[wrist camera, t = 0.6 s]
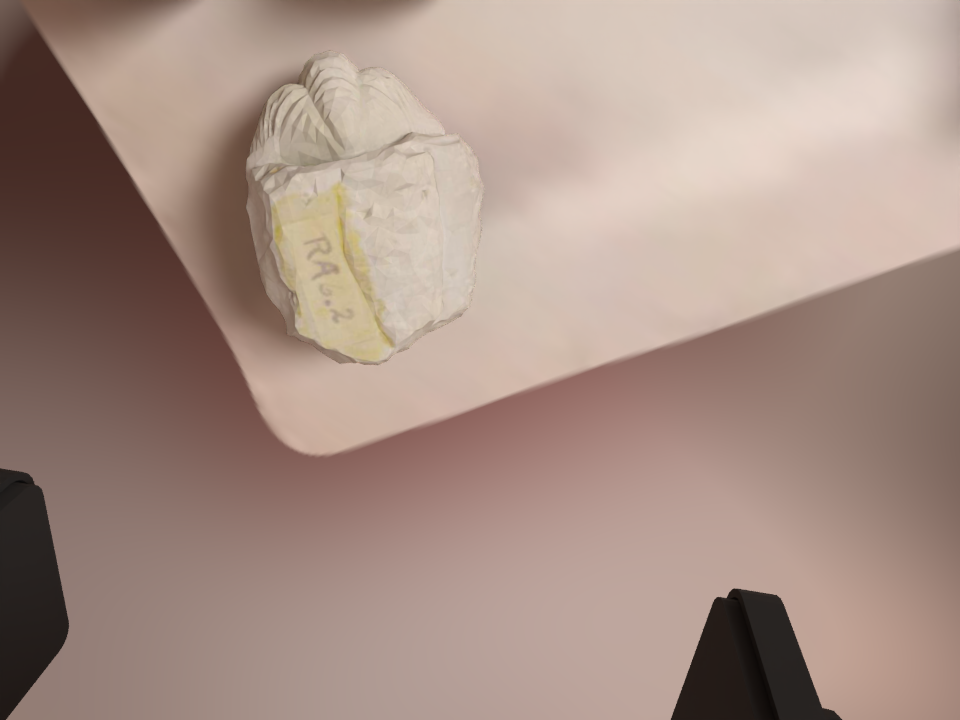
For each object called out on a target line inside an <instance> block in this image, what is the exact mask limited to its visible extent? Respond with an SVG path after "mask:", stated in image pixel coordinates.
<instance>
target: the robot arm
mask: <svg viewBox="0 0 960 720" xmlns="http://www.w3.org/2000/svg"><path fill="white" fill-rule="evenodd" d="M68 629H69V621H68V616H67V611H66V606H65V601H64V596H63V591H62V586H61V581H60V576H59V571H58V565H57V560H56V555H55V550H54V546H53V540H52V535H51V531H50V525H49V520H48V515H47V510H46V506H45V500H44V495H43V492H42V489H41V488H40V487H39V486H36V485H35V484H34V481H33V479H32V477H31V476H30V475H29V474H27V473H24V472H19V471H12V470H6V469H0V720H6V719H7V717H8V716H9V715H10V714H11V712H12V711H13V710H14V709H15V707H16V706H17V705H18V703H19V702H20V701H21V700H22V698H23V697H24V696H25V694H26V693H27V692H28V690H29V689H30V688H31V687H32V686H33V684H34V683H35V682H36V680H37V679H38V678H39V676H40V675H41V674H42V673H43V671H44V670H45V669H46V668H47V666H48V665H49V664H50V663H51V661H52V660H53V659H54V657H55V656H56V655H57V654H58V652H59V651H60V649H61V648H62V646H63V644H64V642H65V640H66V637H67V634H68ZM671 720H842V719H841V718H840V717H839V716H838V715H837V714H836V713H835V712H834V711H832V710H829V709H824V708H822V707H821V704H820V701H819V698H818V696H817V693H816V690H815V688H814V685H813V682H812V680H811V677H810V674H809V671H808V669H807V666H806V663H805V660H804V658H803V655H802V652H801V650H800V647H799V645H798V642H797V639H796V636H795V634H794V631H793V628H792V626H791V623H790V620H789V617H788V615H787V612H786V609H785V607H784V604H783V602H782V600H781V598H779V597H778V596H777V595H773V594H766V593H760V592H754V591H748V590H741V589H732V590H731V591H730V592H729V594H728V596H727V598H722V597H717V598H716V599H715V600H714V602H713V604H712V608H711V610H710V613H709V615H708V618H707V621H706V624H705V626H704V629H703V632H702V635H701V638H700V641H699V643H698V646H697V649H696V651H695V654H694V657H693V660H692V662H691V665H690V668H689V671H688V673H687V676H686V679H685V682H684V685H683V687H682V690H681V693H680V696H679V698H678V701H677V704H676V707H675V709H674V712H673V715H672V718H671Z"/></svg>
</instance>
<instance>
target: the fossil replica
mask: <svg viewBox="0 0 960 720" xmlns="http://www.w3.org/2000/svg"><path fill="white" fill-rule="evenodd" d="M246 180H247V182H248V199H247V204H246V210H247V212H248V215H249V219H250V226H251V233H252V237H253V242H254V246H255V252H256V257H257V263H258V266H259V269H260V276H261V281H262V283H263V286H264V288H265V291H266V294H267V295H268V297H269V298H270V300H271V301H272V303H273V304H274V305H275V306H276V307H277V308H278V309H279V310H280V312H281V314H282V316H283V318H284V320H285V322H286V334H288V335H289V336H294V337H297V338H298V339H299V340H300V341H303V342H307V343H309V344H311V345H313V346H314V347H315V348H316V349H317V350H319V351H320V352H322V353H323V354H325V355H326V356H328V357H329V358H331V359H333V360H335V361H336V362H338V363H340V364H342V363H360V364H364V365H380V364H382V363H384V362H386V361H388V360H389V359H390V358H391V357H392V356H393V355H394V354H396V353H398V352H402V351H404V350H407V349H409V348H410V347H411V346H412V345H413V344H414V343H415V342H416V341H417V340H418V339H419V338H421V337H422V336H424V335H425V334H427V333H428V332H431V331H434V330H436V329H438V328H440V327H442V326H444V325H446V324H448V323H450V322H452V321H453V320H455V319H457V318H459V317H461V315H462V314H463V312H464V311H465V310H466V309H467V308H469V307H470V305H471V301H472V292H473V289H474V287H475V283H476V274H475V263H476V252H477V248H478V245H479V241H480V237H481V231H482V222H481V218H480V215H479V213H480V208H481V203H482V200H483V195H484V191H485V190H484V187H483V184H482V181H481V178H480V175H479V168H478V158H477V156H476V155H475V153H474V152H473V150H472V149H471V147H470V146H469V145H468V144H466V143H465V142H464V141H463V139H462V138H461V137H460V136H459V134H458V133H457V134H449V135H445V132H444V128H443V126H442V125H441V122H440V121H439V120H438V119H437V118H436V117H435V115H434V114H433V113H431V112H429V111H428V110H427V109H426V108H425V106H424V105H423V104H422V103H421V102H420V101H419V100H417V98H416V97H415V96H414V95H413V93H412V92H411V91H410V90H409V89H408V88H407V87H406V86H405V85H404V84H403V83H402V82H401V81H400V80H399V79H398V78H397V77H396V76H394V75H393V74H392V73H390V72H388V71H386V70H385V69H382V68H379V67H370V68H366V69H363V70H361V71H359V70H358V68H357V67H356V66H355V65H354V64H353V63H352V62H351V61H350V60H348V59H347V57H346V56H345V55H344V54H343V53H338V52H334V51H331V50H329V51H326V52H323V53H320V54H314V55H313V56H312V57H311V58H310V59H309V60H308V61H307V62H306V63H305V65H304V69H303V71H302V72H301V74H300V76H299V82H298V84H287V85H284V86H282V87H280V88H279V89H278V90H276V91H275V92H274V93H273V94H272V95H271V97H270V98H269V99H268V100H267V102H266V103H265V105H264V107H263V112H262V113H261V115H260V118H259V122H258V127H257V129H256V131H255V135H254V138H253V140H252V144H251V147H250V155H249V156H248V158H247V163H246Z"/></svg>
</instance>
